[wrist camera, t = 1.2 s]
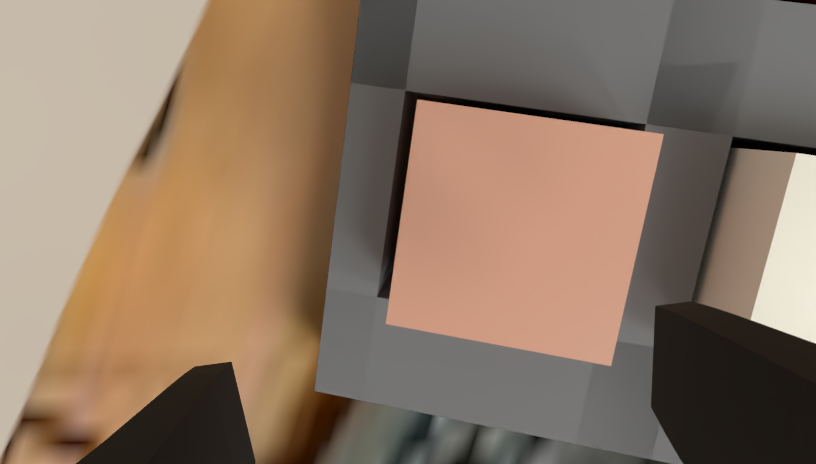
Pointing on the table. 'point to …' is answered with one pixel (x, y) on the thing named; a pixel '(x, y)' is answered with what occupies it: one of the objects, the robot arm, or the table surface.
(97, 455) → the robot arm
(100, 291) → the table surface
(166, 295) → the table surface
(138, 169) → the table surface
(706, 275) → the cream key
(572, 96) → the key console
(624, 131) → the terracotta key
